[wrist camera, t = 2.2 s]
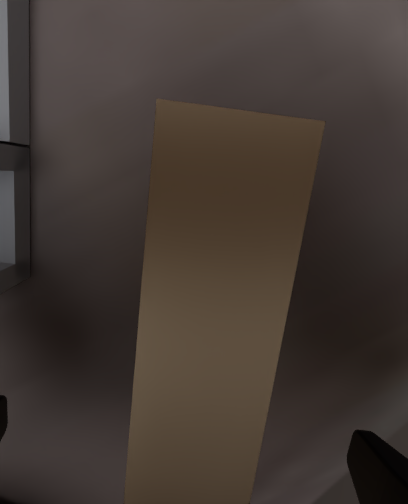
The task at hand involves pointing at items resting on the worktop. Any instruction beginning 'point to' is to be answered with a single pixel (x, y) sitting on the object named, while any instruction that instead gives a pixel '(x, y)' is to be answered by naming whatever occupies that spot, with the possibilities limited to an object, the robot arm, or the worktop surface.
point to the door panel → (214, 296)
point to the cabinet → (14, 131)
